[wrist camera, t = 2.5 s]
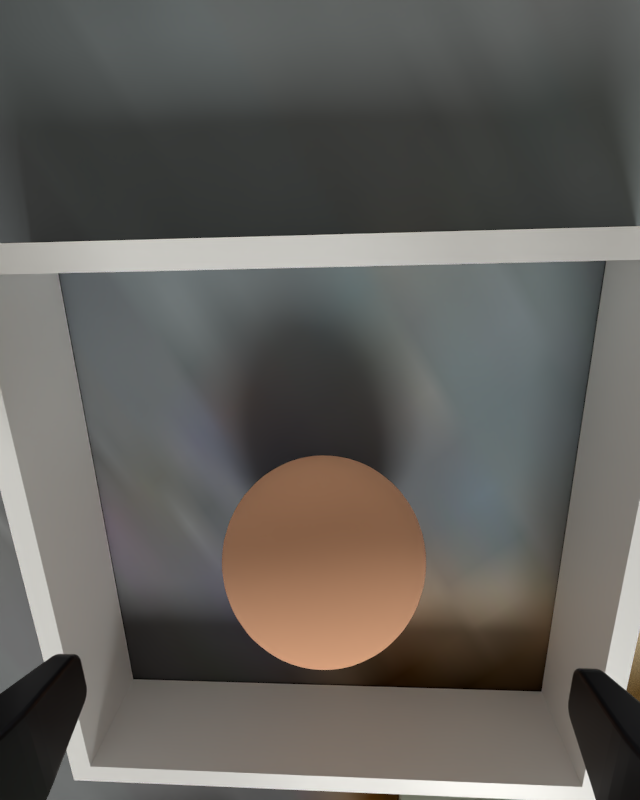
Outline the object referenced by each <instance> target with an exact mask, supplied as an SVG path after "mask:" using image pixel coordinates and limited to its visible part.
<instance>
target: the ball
mask: <svg viewBox="0 0 640 800" xmlns="http://www.w3.org/2000/svg"><path fill="white" fill-rule="evenodd" d="M222 572H223V579H224V585H225V590H226V593H227V596H228V599H229V602H230V605H231V607H232V610H233V612H234V614H235V616H236V618H237V619H238V621H239V622H240V623H241V625H242V626H243V628H244V629H245V631H246V632H247V633H248V634H249V636H250V637H251V638H252V639H253V640H254V641H255V642H256V643H257V644H259V645H260V646H261V647H262V648H263V649H265V650H266V651H267V652H269V653H270V654H272V655H273V656H275V657H277V658H278V659H280V660H282V661H285V662H287V663H289V664H292V665H295V666H299V667H303V668H308V669H316V670H334V669H342V668H346V667H350V666H353V665H356V664H359V663H362V662H364V661H366V660H368V659H370V658H372V657H374V656H375V655H377V654H378V653H380V652H381V651H383V650H384V649H385V648H387V647H388V646H389V645H390V644H391V643H392V642H393V641H394V640H395V639H396V638H397V637H398V636H399V635H400V634H401V633H402V631H403V630H404V629H405V627H406V626H407V624H408V623H409V621H410V620H411V618H412V616H413V614H414V612H415V610H416V608H417V606H418V603H419V600H420V597H421V594H422V590H423V587H424V581H425V572H426V552H425V545H424V540H423V534H422V532H421V529H420V526H419V523H418V520H417V518H416V515H415V513H414V512H413V510H412V508H411V506H410V504H409V503H408V502H407V500H406V499H405V497H404V496H403V495H402V493H401V492H400V491H399V490H398V489H397V487H396V486H395V485H394V484H393V483H392V482H390V481H389V480H388V479H387V478H385V477H384V476H383V475H382V474H380V473H379V472H377V471H376V470H374V469H373V468H371V467H369V466H367V465H365V464H363V463H360V462H358V461H355V460H352V459H348V458H344V457H338V456H327V455H321V456H309V457H304V458H299V459H296V460H293V461H290V462H287V463H285V464H283V465H281V466H279V467H277V468H275V469H274V470H272V471H270V472H269V473H267V474H266V475H264V476H263V477H262V478H261V479H260V480H258V481H257V482H256V483H255V484H254V485H253V486H252V487H251V488H250V490H249V491H248V492H247V493H246V494H245V495H244V497H243V498H242V500H241V501H240V503H239V504H238V506H237V508H236V509H235V511H234V513H233V515H232V518H231V520H230V522H229V525H228V529H227V532H226V536H225V539H224V545H223V554H222Z"/></svg>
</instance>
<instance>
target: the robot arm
mask: <svg viewBox="0 0 640 800" xmlns="http://www.w3.org/2000/svg"><path fill="white" fill-rule="evenodd" d="M86 695H87V685H86V681H85V676H84V672H83V668H82V663H81V659H80V657H79V656H78V655H76V654H56V655H54V656H52V657H51V658H49V659H48V660H46V661H45V662H44V663H42V664H41V665H39V666H38V667H37V668H35V669H34V670H33V671H31V672H30V673H28V674H27V675H26V676H24V677H23V678H22V679H20V680H19V681H17V682H16V683H15V684H13V685H12V686H10V687H9V688H8V689H6V690H5V691H4V692H2V693H1V694H0V800H46V799H47V797H48V795H49V792H50V790H51V787H52V785H53V783H54V780H55V778H56V775H57V773H58V770H59V767H60V765H61V762H62V760H63V757H64V755H65V752H66V749H67V747H68V744H69V742H70V739H71V736H72V734H73V731H74V729H75V726H76V724H77V721H78V718H79V716H80V713H81V711H82V708H83V705H84V703H85V700H86ZM568 711H569V717H570V720H571V723H572V727H573V730H574V733H575V736H576V739H577V742H578V745H579V749H580V752H581V755H582V758H583V761H584V764H585V767H586V771H587V774H588V777H589V780H590V783H591V786H592V789H593V793H594V796H595V799H596V800H640V702H639V701H638V700H637V699H635V698H634V697H633V696H632V695H631V694H629V693H628V692H627V691H626V690H625V689H624V688H622V687H621V686H620V685H619V684H618V683H616V682H615V681H614V680H613V679H612V678H611V677H609V676H608V675H607V674H606V673H605V672H603V671H601V670H599V669H591V668H578V669H576V670H575V671H574V673H573V677H572V683H571V688H570V694H569V700H568Z"/></svg>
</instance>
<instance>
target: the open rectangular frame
mask: <svg viewBox="0 0 640 800" xmlns="http://www.w3.org/2000/svg"><path fill="white" fill-rule="evenodd" d="M567 261H606V266H605V273H604V279H603V286H602V293H601V299H600V306H599V312H598V319H597V326H596V332H595V339H594V346H593V352H592V359H591V366H590V372H589V379H588V386H587V392H586V399H585V405H584V412H583V419H582V425H581V432H580V439H579V445H578V452H577V459H576V465H575V472H574V479H573V485H572V492H571V498H570V505H569V512H568V518H567V525H566V532H565V538H564V545H563V552H562V558H561V565H560V572H559V578H558V585H557V591H556V598H555V605H554V611H553V618H552V625H551V631H550V638H549V645H548V651H547V658H546V665H545V671H544V678H543V684H542V691H541V692H540V691H507V690H474V689H441V688H408V687H374V686H341V685H308V684H275V683H242V682H208V681H175V680H142V679H133V675H132V670H131V664H130V659H129V654H128V648H127V643H126V637H125V632H124V627H123V621H122V616H121V610H120V605H119V600H118V594H117V589H116V583H115V578H114V573H113V567H112V562H111V556H110V551H109V546H108V540H107V535H106V529H105V524H104V519H103V513H102V508H101V502H100V497H99V492H98V486H97V481H96V475H95V470H94V464H93V459H92V454H91V448H90V443H89V437H88V432H87V427H86V421H85V416H84V410H83V405H82V400H81V394H80V389H79V383H78V378H77V373H76V367H75V362H74V356H73V351H72V346H71V340H70V335H69V329H68V324H67V319H66V313H65V308H64V302H63V297H62V292H61V286H60V281H59V275H58V273H89V272H132V271H176V270H219V269H263V268H306V267H350V266H393V265H437V264H480V263H524V262H567ZM0 491H1V495H2V499H3V502H4V506H5V510H6V514H7V518H8V522H9V526H10V530H11V534H12V538H13V542H14V546H15V550H16V554H17V558H18V561H19V565H20V569H21V573H22V577H23V581H24V585H25V589H26V593H27V597H28V601H29V605H30V609H31V613H32V616H33V620H34V624H35V628H36V632H37V636H38V640H39V644H40V648H41V652H42V656H43V660H44V662H45V661H46V660H48V659H49V658H51V657H52V656H54V655H56V654H76V655H78V656H79V657H80V659H81V663H82V668H83V672H84V676H85V681H86V685H87V695H86V700H85V703H84V705H83V708H82V711H81V713H80V716H79V718H78V721H77V724H76V726H75V729H74V731H73V734H72V736H71V739H70V742H69V744H68V747H67V749H66V750H67V754H68V758H69V762H70V766H71V770H72V774H73V778H74V780H82V781H105V782H128V783H151V784H174V785H197V786H220V787H243V788H265V789H288V790H311V791H334V792H357V793H380V794H403V795H426V796H449V797H472V798H495V799H518V800H596V799H595V796H594V793H593V789H592V786H591V783H590V780H589V777H588V774H587V771H586V767H585V764H584V761H583V758H582V755H581V752H580V749H579V745H578V742H577V739H576V736H575V733H574V730H573V727H572V723H571V720H570V717H569V711H568V700H569V694H570V688H571V683H572V677H573V673H574V671H575V670H576V669H578V668H591V669H599V670H601V671H603V672H605V673H606V674H607V675H608V676H609V677H611V678H612V679H613V680H614V681H615V682H616V683H618V684H619V685H620V686H621V687H622V688H624V689H625V690H626V689H627V685H628V680H629V675H630V671H631V666H632V662H633V657H634V653H635V648H636V644H637V639H638V635H639V630H640V226H627V227H590V228H553V229H516V230H479V231H442V232H406V233H369V234H332V235H295V236H258V237H221V238H184V239H147V240H110V241H73V242H37V243H0Z"/></svg>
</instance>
